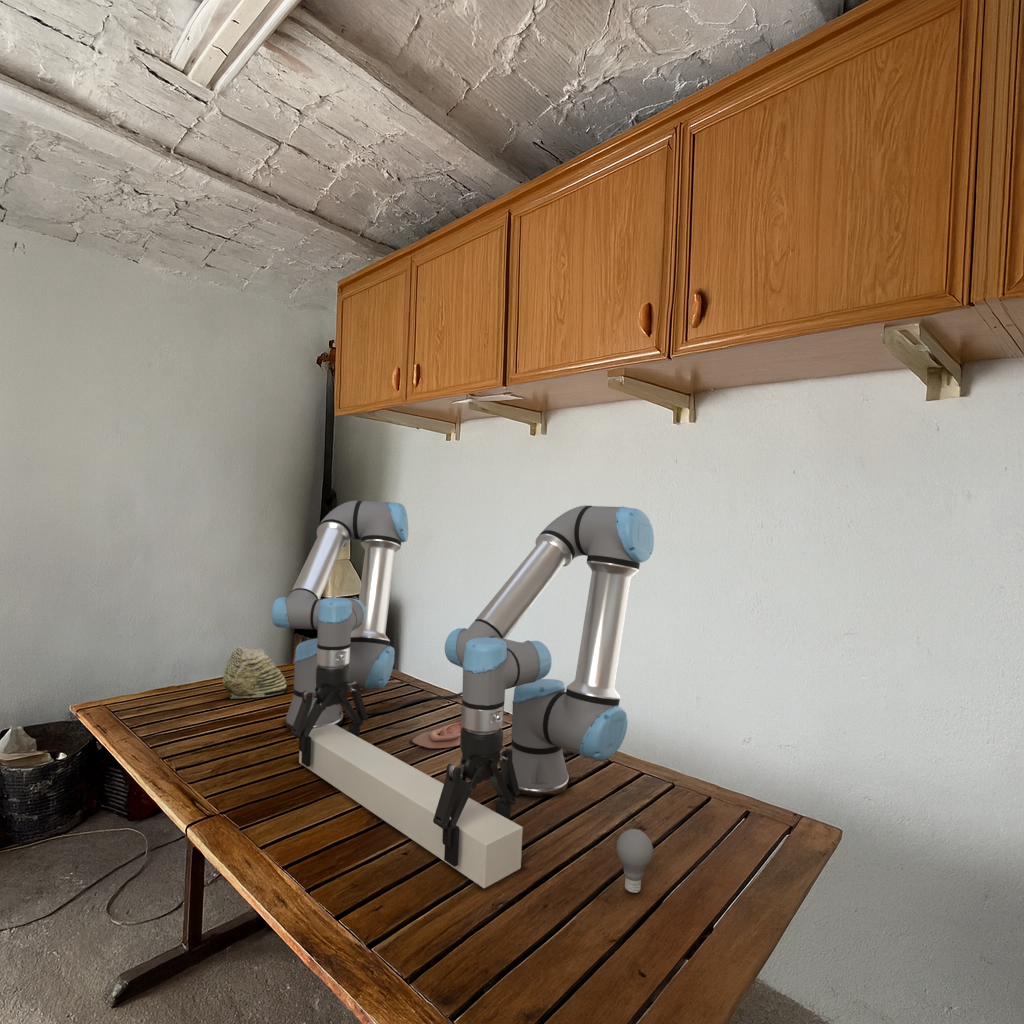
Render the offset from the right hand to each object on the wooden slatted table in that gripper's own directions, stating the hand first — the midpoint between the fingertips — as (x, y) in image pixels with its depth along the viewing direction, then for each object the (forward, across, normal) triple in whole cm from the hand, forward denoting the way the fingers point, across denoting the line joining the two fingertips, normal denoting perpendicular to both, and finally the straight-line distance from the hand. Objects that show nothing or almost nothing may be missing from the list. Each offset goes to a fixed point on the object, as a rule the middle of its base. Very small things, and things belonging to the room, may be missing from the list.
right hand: (476, 850), depth 112 cm
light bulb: (+2, +14, -24) cm, 27 cm away
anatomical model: (+2, +30, +48) cm, 56 cm away
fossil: (+2, +9, +113) cm, 114 cm away
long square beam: (+2, 0, +26) cm, 26 cm away
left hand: (0, 0, +52) cm, 52 cm away
